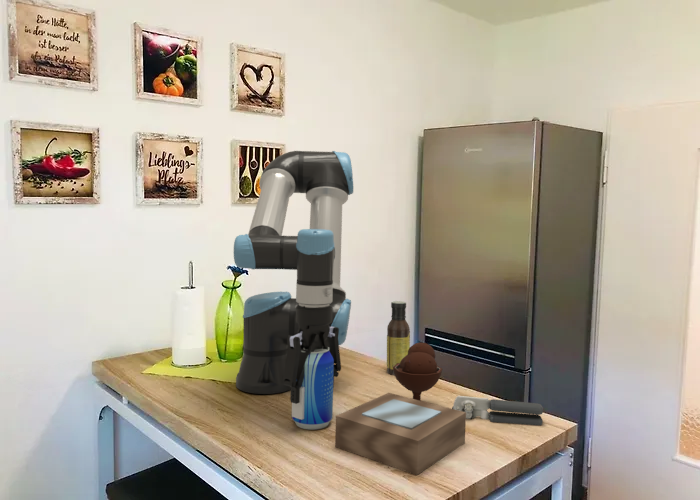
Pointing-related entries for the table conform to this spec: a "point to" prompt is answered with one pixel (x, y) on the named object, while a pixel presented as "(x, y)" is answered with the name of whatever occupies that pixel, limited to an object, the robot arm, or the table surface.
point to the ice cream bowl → (418, 369)
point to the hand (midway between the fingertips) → (312, 411)
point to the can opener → (481, 405)
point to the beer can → (317, 390)
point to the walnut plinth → (401, 432)
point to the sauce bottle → (397, 336)
